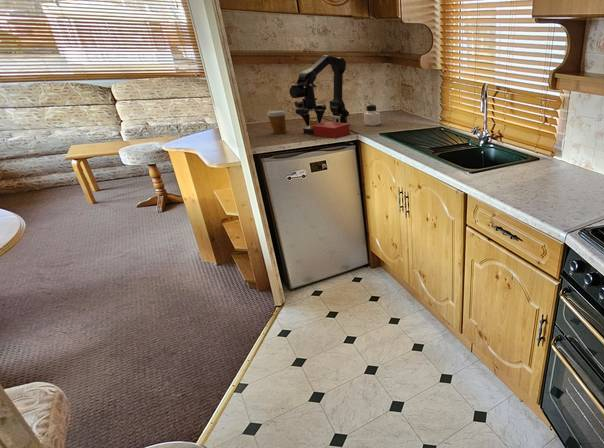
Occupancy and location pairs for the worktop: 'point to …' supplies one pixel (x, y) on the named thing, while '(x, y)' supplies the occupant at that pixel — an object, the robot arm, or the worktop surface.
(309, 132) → the valve panel
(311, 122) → the valve knob
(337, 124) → the cabinet lid
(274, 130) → the disposable coffee cup
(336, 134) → the red cabinet box
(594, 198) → the worktop surface
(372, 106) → the medicine bottle
